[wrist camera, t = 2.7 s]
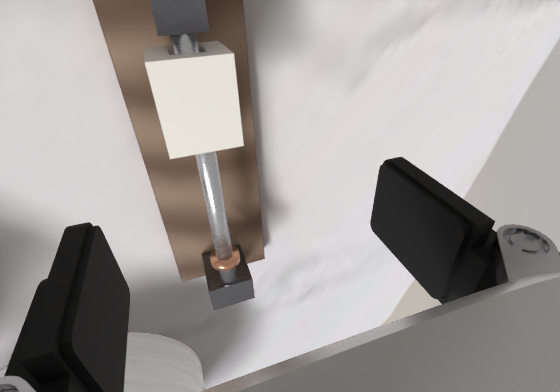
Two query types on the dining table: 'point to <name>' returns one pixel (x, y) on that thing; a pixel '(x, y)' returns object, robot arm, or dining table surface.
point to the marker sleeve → (196, 98)
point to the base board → (183, 171)
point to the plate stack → (159, 365)
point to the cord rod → (207, 165)
